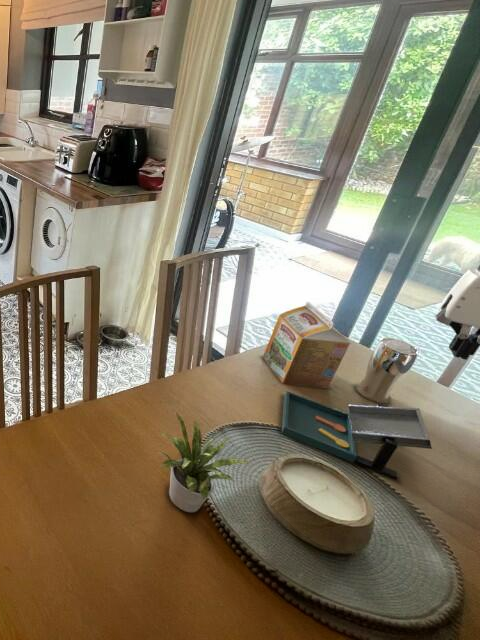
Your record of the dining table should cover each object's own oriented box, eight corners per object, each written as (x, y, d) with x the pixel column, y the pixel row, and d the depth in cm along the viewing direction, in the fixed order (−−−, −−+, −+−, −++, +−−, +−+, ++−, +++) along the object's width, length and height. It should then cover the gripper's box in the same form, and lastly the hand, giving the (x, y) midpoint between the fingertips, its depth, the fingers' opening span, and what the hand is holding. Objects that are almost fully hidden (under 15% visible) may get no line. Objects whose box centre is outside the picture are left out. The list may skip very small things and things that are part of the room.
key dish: (421, 416, 85) (419, 408, 84) (432, 449, 77) (430, 439, 77) (349, 412, 92) (347, 404, 92) (353, 441, 85) (351, 432, 84)
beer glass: (347, 387, 104) (372, 339, 98) (365, 382, 106) (391, 334, 100) (379, 407, 98) (408, 357, 92) (398, 401, 100) (427, 352, 94)
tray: (348, 420, 95) (351, 414, 94) (353, 462, 84) (357, 456, 83) (284, 396, 101) (286, 390, 100) (281, 433, 91) (284, 427, 90)
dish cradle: (386, 434, 91) (401, 409, 88) (396, 480, 81) (414, 453, 78) (350, 421, 94) (364, 396, 91) (356, 463, 84) (372, 437, 81)
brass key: (350, 446, 87) (351, 444, 87) (345, 450, 86) (346, 448, 86) (321, 428, 92) (321, 426, 92) (316, 431, 91) (317, 430, 91)
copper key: (346, 429, 92) (347, 427, 91) (344, 434, 90) (345, 433, 90) (316, 415, 95) (316, 414, 95) (314, 420, 94) (315, 419, 94)
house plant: (121, 473, 81) (137, 412, 74) (175, 452, 86) (194, 393, 79) (178, 544, 69) (203, 479, 62) (237, 516, 74) (266, 453, 67)
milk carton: (327, 388, 104) (358, 325, 96) (282, 383, 106) (309, 321, 98) (303, 361, 114) (330, 302, 106) (262, 357, 115) (285, 299, 107)
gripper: (568, 276, 71) (508, 360, 79) (446, 254, 79) (402, 332, 87) (590, 293, 66) (523, 381, 74) (456, 267, 74) (409, 349, 82)
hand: (458, 354), depth 80 cm, fingers closed
